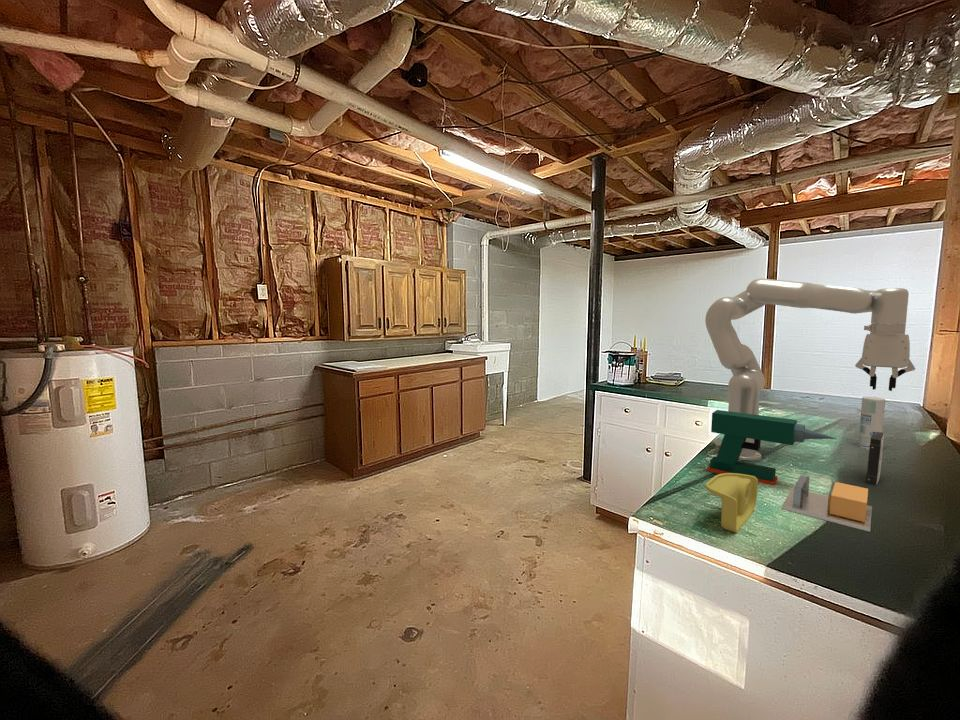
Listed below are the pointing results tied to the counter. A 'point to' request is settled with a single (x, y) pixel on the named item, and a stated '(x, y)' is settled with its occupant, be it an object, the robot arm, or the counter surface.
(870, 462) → the disk drive
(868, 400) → the tall white carton
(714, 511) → the counter surface
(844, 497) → the block
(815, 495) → the vise base
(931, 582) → the counter surface
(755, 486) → the plastic component
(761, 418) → the power tool
